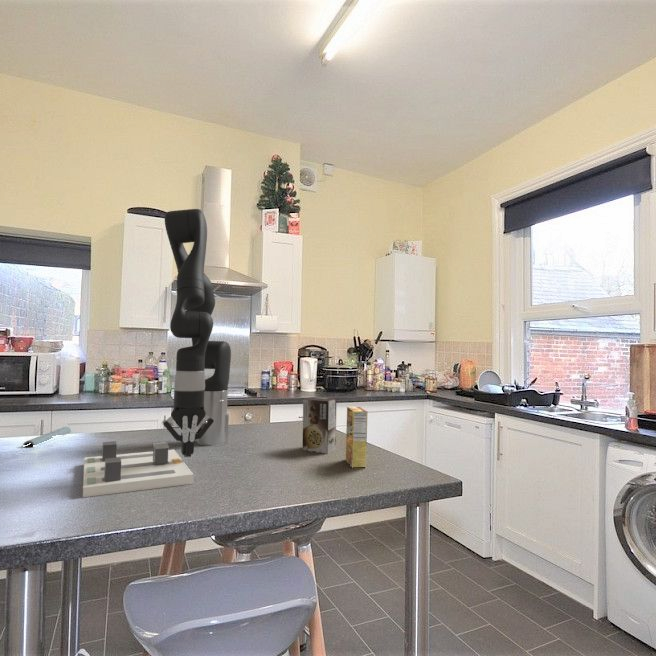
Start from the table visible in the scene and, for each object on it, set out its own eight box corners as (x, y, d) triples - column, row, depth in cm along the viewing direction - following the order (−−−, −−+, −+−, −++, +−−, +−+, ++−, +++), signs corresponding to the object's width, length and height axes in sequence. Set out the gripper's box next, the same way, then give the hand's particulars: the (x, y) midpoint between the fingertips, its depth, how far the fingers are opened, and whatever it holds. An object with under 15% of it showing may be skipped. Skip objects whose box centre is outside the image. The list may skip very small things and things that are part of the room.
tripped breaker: (165, 459, 110) (166, 442, 110) (168, 463, 106) (168, 445, 107) (152, 460, 108) (152, 443, 109) (154, 464, 105) (155, 446, 105)
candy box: (344, 460, 124) (346, 406, 124) (359, 459, 125) (360, 406, 125) (351, 468, 115) (352, 410, 116) (367, 468, 116) (368, 410, 116)
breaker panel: (173, 458, 121) (174, 435, 122) (193, 485, 99) (194, 456, 99) (83, 467, 111) (85, 441, 111) (82, 500, 88) (84, 467, 88)
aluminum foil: (34, 452, 126) (34, 440, 126) (9, 452, 125) (10, 440, 125) (71, 436, 149) (71, 426, 149) (50, 436, 148) (51, 426, 148)
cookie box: (336, 450, 136) (337, 398, 136) (327, 454, 130) (329, 400, 130) (310, 446, 139) (311, 396, 140) (301, 450, 134) (302, 398, 134)
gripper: (211, 386, 118) (209, 450, 117) (160, 387, 111) (157, 455, 111) (219, 389, 111) (216, 457, 110) (164, 390, 105) (162, 462, 104)
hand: (187, 456), depth 110 cm, fingers closed
